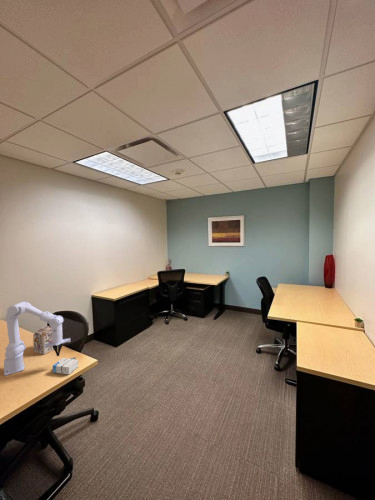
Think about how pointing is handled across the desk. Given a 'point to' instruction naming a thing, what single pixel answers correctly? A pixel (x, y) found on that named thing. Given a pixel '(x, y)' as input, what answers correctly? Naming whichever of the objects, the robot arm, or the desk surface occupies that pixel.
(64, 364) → the ink box
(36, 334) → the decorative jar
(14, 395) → the desk surface
